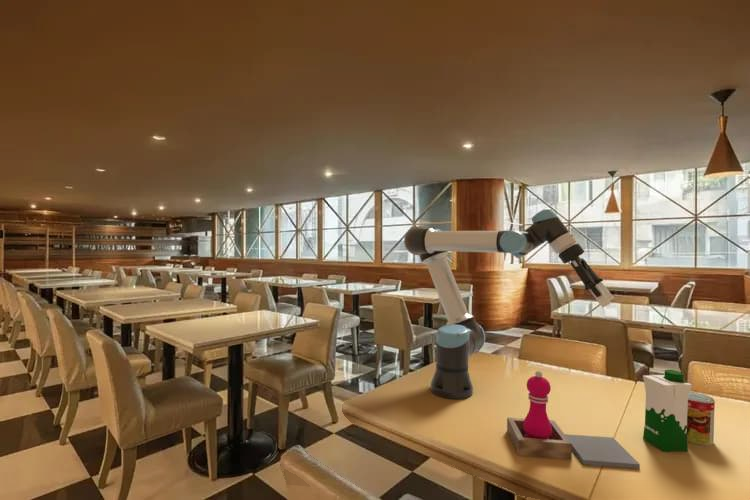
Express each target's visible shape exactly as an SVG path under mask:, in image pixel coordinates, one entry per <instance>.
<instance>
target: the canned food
mask: <svg viewBox="0 0 750 500" xmlns="http://www.w3.org/2000/svg"><path fill="white" fill-rule="evenodd" d="M715 403H716V400H715V399H714V398H713V397H711V396H709V395H707V394H705V393H704V394H703V393H700V392H694V391H690V394H689V398H688V409H687V443H691V444H694V445H698V446H706V447H707V446H708V447H709V446H713V445H714V436H715V434H714V433H715V431H714V430H715V408H716V407H715Z"/></svg>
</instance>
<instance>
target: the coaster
mask: <svg viewBox="0 0 750 500" xmlns="http://www.w3.org/2000/svg"><path fill="white" fill-rule="evenodd" d="M564 434H565V433H564ZM565 435H566V437H567V438H568V439H569V441H570V442H571V443H572V452H573V451H574V452H573V453H574V454H575V456H576V455H577V456H576V457H577V458H578V459H580V460H579V461H580V462H581V464H582V465H585V466H595V467H609V468H619V469H620V468H621V469H632V470H633V469H634V470H640V467H641V463H639V462H638V460H637V459H636V458H634V457H633V456H632V455H631V454H630V452H628V451H627V450H626V449H625V448H624V447H623V446H622V445H621V444H620V443H619V442H618V441H617V440H616V439H615V438H614V437H611V436H610V437H609V436H599V435H597V436H596V435H595V436H594V435H583V434H568V433H566V434H565Z"/></svg>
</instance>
